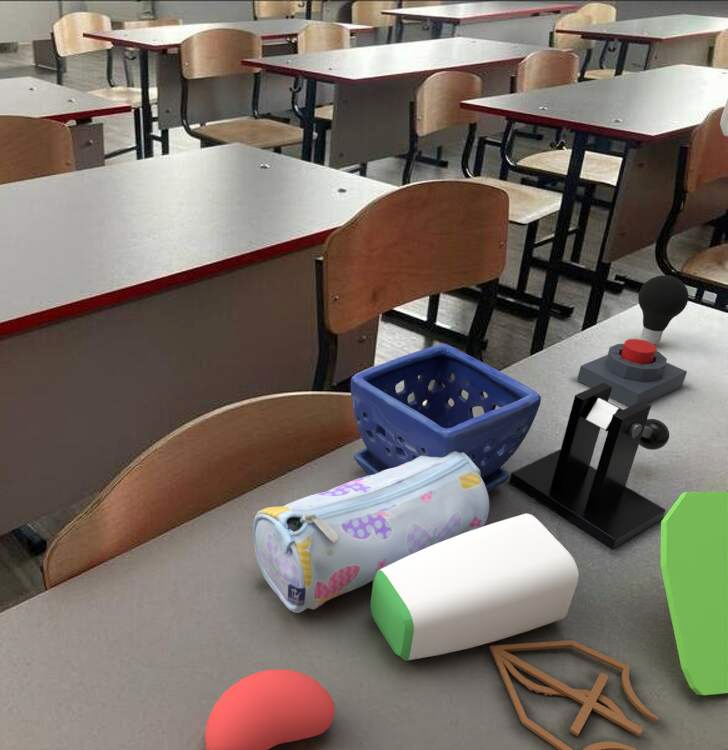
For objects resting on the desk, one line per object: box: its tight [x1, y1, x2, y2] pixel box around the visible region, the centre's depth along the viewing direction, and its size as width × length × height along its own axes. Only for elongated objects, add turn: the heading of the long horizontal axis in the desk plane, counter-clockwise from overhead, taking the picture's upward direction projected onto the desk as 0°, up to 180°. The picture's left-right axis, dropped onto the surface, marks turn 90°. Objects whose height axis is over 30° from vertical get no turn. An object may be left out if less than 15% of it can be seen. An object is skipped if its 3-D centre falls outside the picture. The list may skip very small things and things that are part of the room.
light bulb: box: [637, 274, 689, 345], centre depth 107 cm, size 6×6×10 cm
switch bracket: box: [509, 383, 666, 550], centre depth 77 cm, size 8×12×12 cm, turn 33°
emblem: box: [489, 639, 659, 750], centre depth 60 cm, size 12×10×1 cm
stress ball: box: [204, 668, 336, 750], centre depth 55 cm, size 5×9×6 cm
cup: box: [370, 513, 580, 662], centre depth 64 cm, size 7×7×15 cm
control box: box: [576, 343, 688, 407], centre depth 99 cm, size 10×8×4 cm
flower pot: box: [350, 343, 542, 493], centre depth 79 cm, size 13×13×12 cm
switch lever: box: [586, 398, 670, 451], centre depth 78 cm, size 14×3×3 cm, turn 124°
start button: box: [621, 338, 658, 364], centre depth 98 cm, size 4×4×2 cm
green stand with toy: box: [659, 490, 728, 696], centre depth 65 cm, size 15×15×6 cm
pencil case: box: [252, 451, 490, 614], centre depth 69 cm, size 21×9×10 cm, turn 118°
